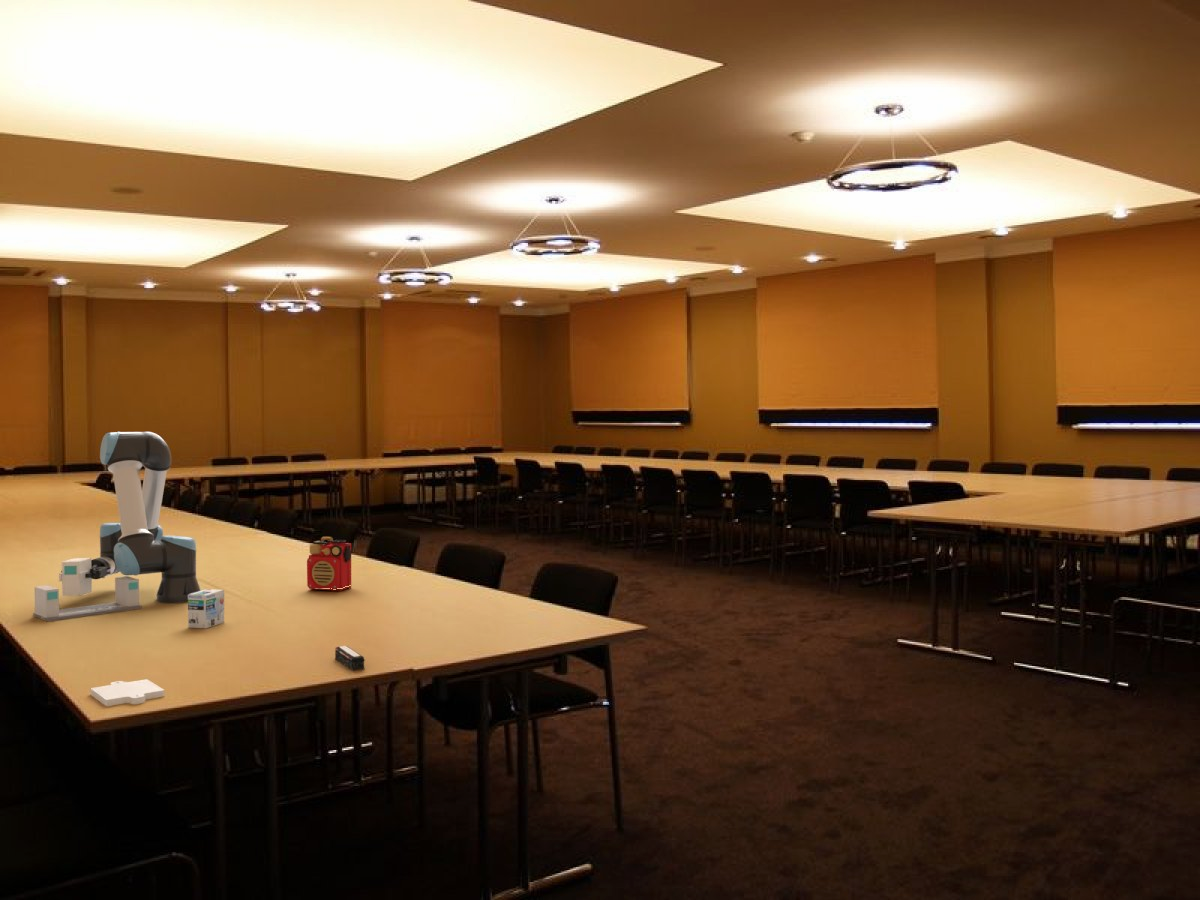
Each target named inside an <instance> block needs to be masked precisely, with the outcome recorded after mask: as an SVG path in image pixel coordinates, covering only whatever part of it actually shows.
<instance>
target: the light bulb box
mask: <svg viewBox="0 0 1200 900" xmlns="http://www.w3.org/2000/svg"><path fill="white" fill-rule="evenodd" d="M224 623H225V590H224V589H215V588H214V589H212V588H205V589H203V590H202V589H201V591H198V592H195V593H191V594H188V602H187V627H188V628H189V629H190V628H193V629H209V628H211V627H214V626H217V625H221V624H224Z"/></svg>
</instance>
